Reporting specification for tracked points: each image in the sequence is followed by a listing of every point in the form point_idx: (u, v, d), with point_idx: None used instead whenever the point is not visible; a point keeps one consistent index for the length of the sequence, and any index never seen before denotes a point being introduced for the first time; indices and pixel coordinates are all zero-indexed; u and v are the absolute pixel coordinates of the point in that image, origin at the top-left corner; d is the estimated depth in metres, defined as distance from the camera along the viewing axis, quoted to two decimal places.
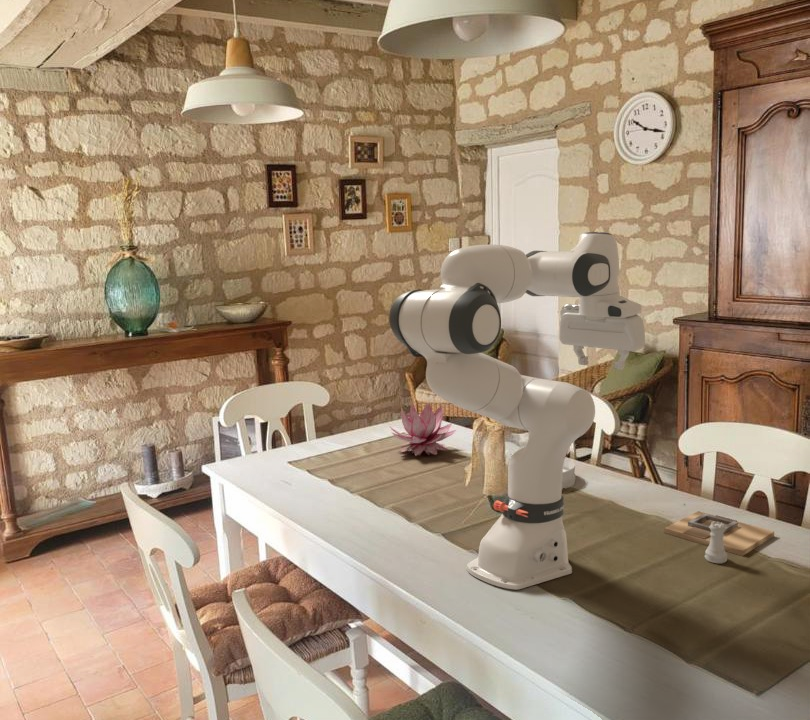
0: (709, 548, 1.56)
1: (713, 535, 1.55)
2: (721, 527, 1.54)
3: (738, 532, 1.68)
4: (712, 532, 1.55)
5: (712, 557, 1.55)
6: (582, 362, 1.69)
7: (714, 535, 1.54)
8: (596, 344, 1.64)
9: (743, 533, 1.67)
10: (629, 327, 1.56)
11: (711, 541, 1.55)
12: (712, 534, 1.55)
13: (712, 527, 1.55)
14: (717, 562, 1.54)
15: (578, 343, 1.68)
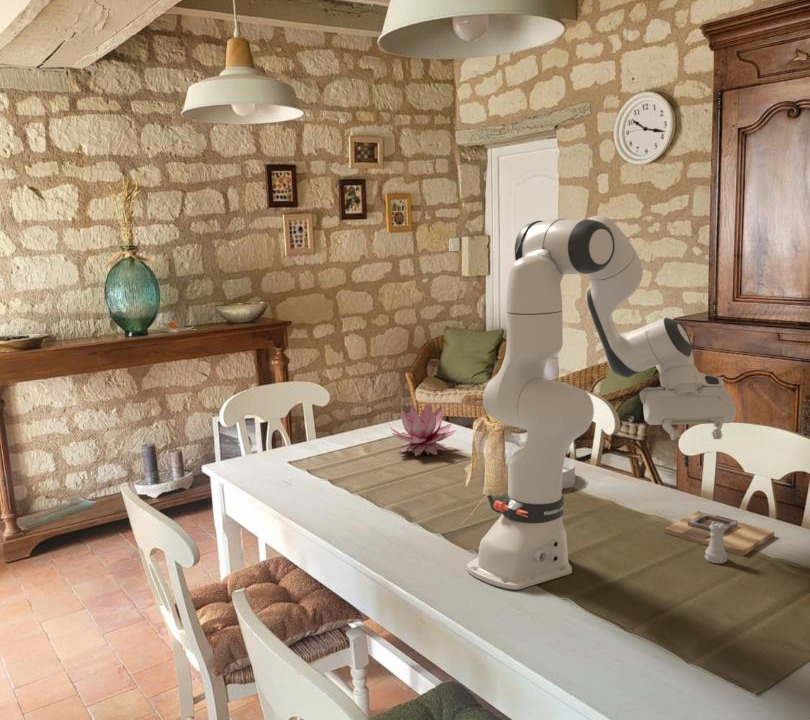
0: (709, 548, 1.56)
1: (713, 535, 1.55)
2: (721, 527, 1.54)
3: (738, 532, 1.68)
4: (712, 532, 1.55)
5: (712, 557, 1.55)
6: (678, 434, 1.65)
7: (714, 535, 1.54)
8: (694, 413, 1.67)
9: (743, 533, 1.67)
10: (727, 394, 1.69)
11: (711, 541, 1.55)
12: (712, 534, 1.55)
13: (712, 527, 1.55)
14: (717, 562, 1.54)
15: (673, 414, 1.67)
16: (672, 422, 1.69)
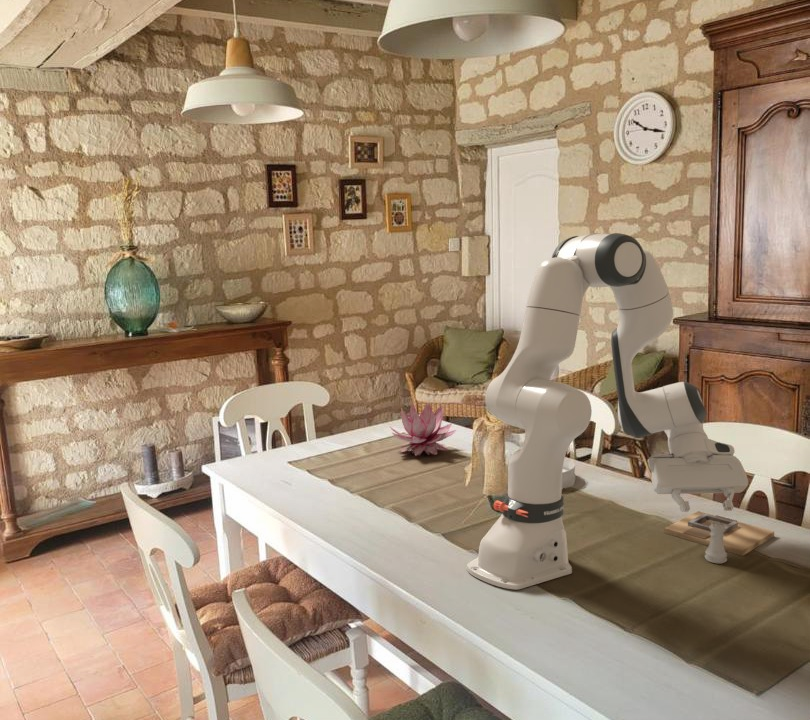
0: (709, 548, 1.56)
1: (713, 535, 1.55)
2: (721, 527, 1.54)
3: (738, 532, 1.68)
4: (712, 532, 1.55)
5: (712, 557, 1.55)
6: (687, 505, 1.60)
7: (714, 535, 1.54)
8: (704, 483, 1.62)
9: (743, 533, 1.67)
10: (738, 463, 1.64)
11: (711, 541, 1.55)
12: (712, 534, 1.55)
13: (712, 527, 1.55)
14: (717, 562, 1.54)
15: (682, 484, 1.62)
16: (681, 491, 1.64)
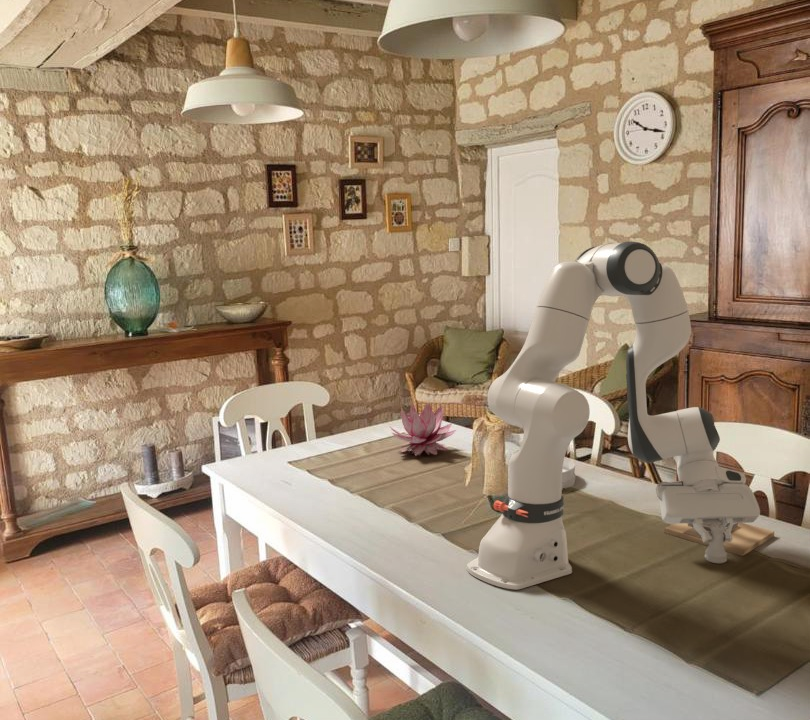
0: (709, 548, 1.56)
1: (713, 535, 1.55)
2: (721, 527, 1.54)
3: (738, 532, 1.68)
4: (712, 532, 1.55)
5: (712, 557, 1.55)
6: (710, 536, 1.55)
7: (714, 535, 1.54)
8: (714, 513, 1.57)
9: (743, 533, 1.67)
10: (750, 492, 1.59)
11: (711, 541, 1.55)
12: (712, 534, 1.55)
13: (712, 527, 1.55)
14: (717, 562, 1.54)
15: (692, 514, 1.57)
16: (691, 521, 1.59)
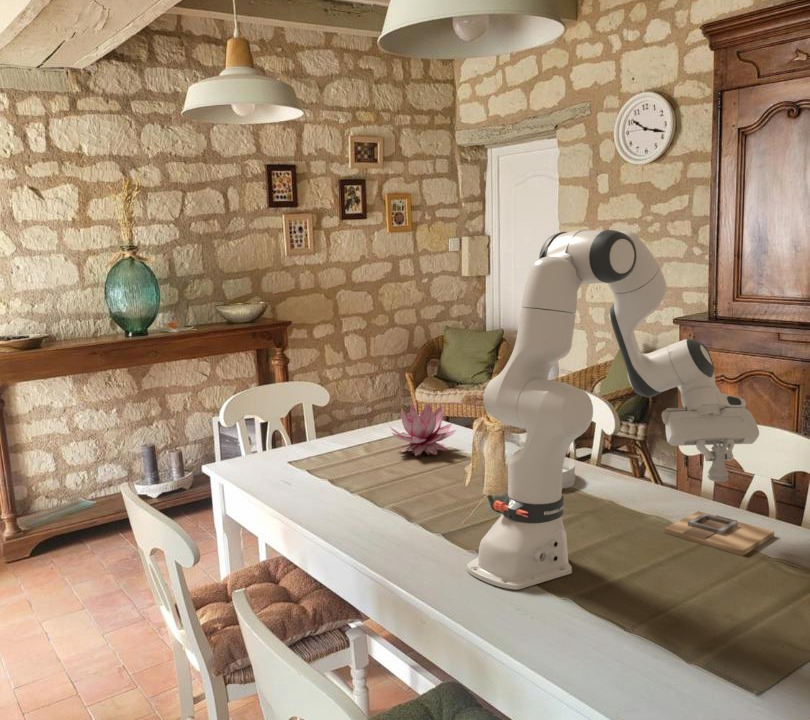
0: (712, 468, 1.67)
1: (715, 455, 1.66)
2: (723, 448, 1.65)
3: (738, 532, 1.68)
4: (714, 453, 1.66)
5: (715, 476, 1.66)
6: (712, 455, 1.66)
7: (716, 455, 1.65)
8: (716, 434, 1.68)
9: (743, 533, 1.67)
10: (750, 415, 1.70)
11: (713, 461, 1.66)
12: (714, 455, 1.66)
13: (714, 448, 1.65)
14: (719, 480, 1.65)
15: (695, 435, 1.68)
16: (694, 443, 1.70)
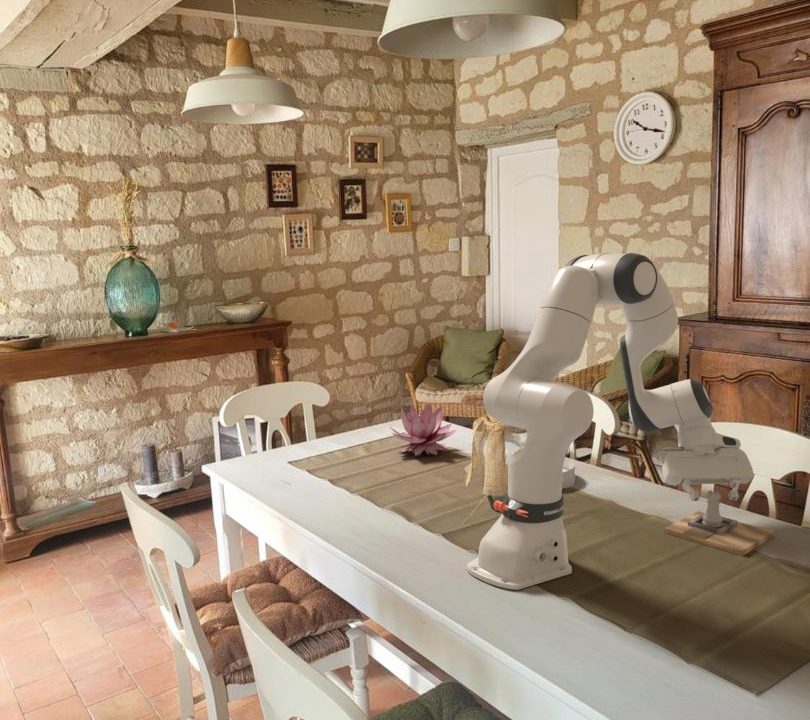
0: (706, 514, 1.71)
1: (710, 502, 1.70)
2: (717, 495, 1.69)
3: (738, 532, 1.68)
4: (709, 500, 1.70)
5: (709, 522, 1.70)
6: (697, 495, 1.70)
7: (711, 502, 1.70)
8: (712, 474, 1.72)
9: (743, 533, 1.67)
10: (744, 455, 1.74)
11: (708, 508, 1.71)
12: (709, 501, 1.70)
13: (709, 495, 1.70)
14: None
15: (691, 475, 1.72)
16: (690, 482, 1.74)
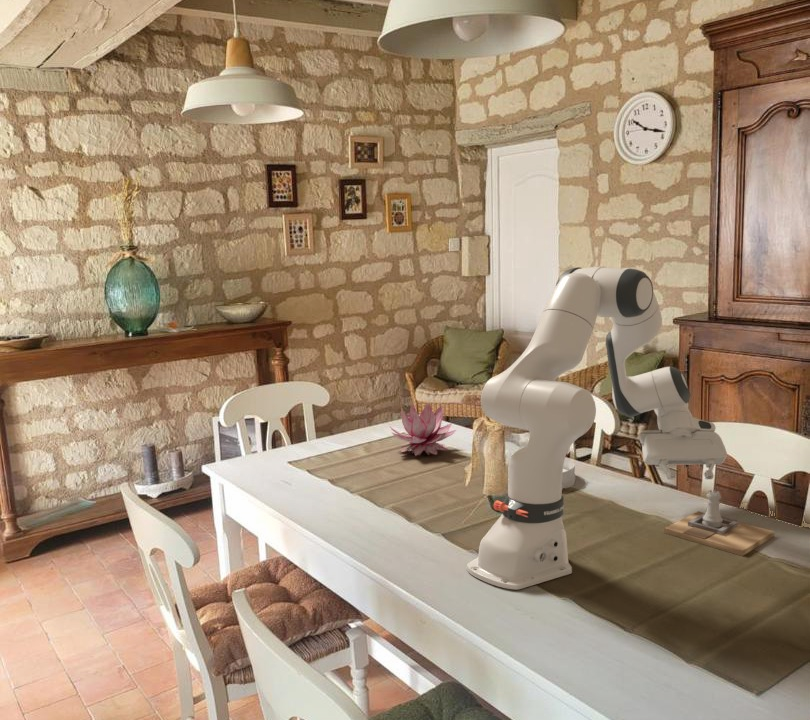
0: (706, 514, 1.71)
1: (710, 502, 1.70)
2: (717, 495, 1.69)
3: (738, 532, 1.68)
4: (709, 500, 1.71)
5: (709, 522, 1.70)
6: (673, 474, 1.82)
7: (711, 502, 1.70)
8: (688, 455, 1.84)
9: (743, 533, 1.67)
10: (718, 438, 1.87)
11: (708, 508, 1.71)
12: (709, 501, 1.70)
13: (709, 495, 1.70)
14: None
15: (669, 456, 1.84)
16: (668, 463, 1.86)
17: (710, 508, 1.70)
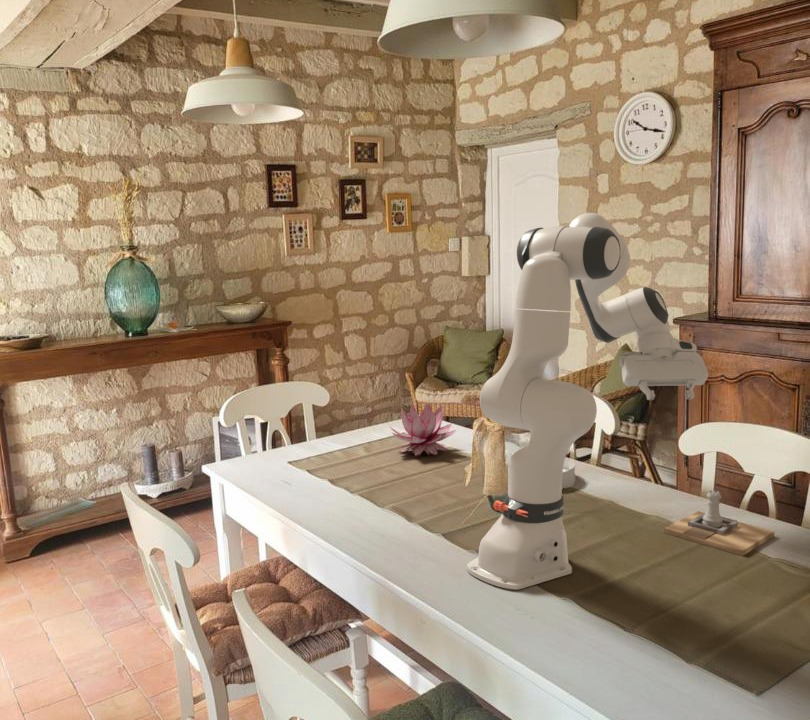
0: (706, 514, 1.71)
1: (710, 502, 1.70)
2: (717, 495, 1.69)
3: (738, 532, 1.68)
4: (709, 500, 1.71)
5: (709, 522, 1.70)
6: (653, 394, 1.78)
7: (711, 502, 1.70)
8: (668, 375, 1.80)
9: (743, 533, 1.67)
10: (700, 358, 1.82)
11: (708, 508, 1.71)
12: (709, 501, 1.70)
13: (709, 495, 1.70)
14: None
15: (649, 376, 1.80)
16: (648, 384, 1.82)
17: (710, 508, 1.70)
